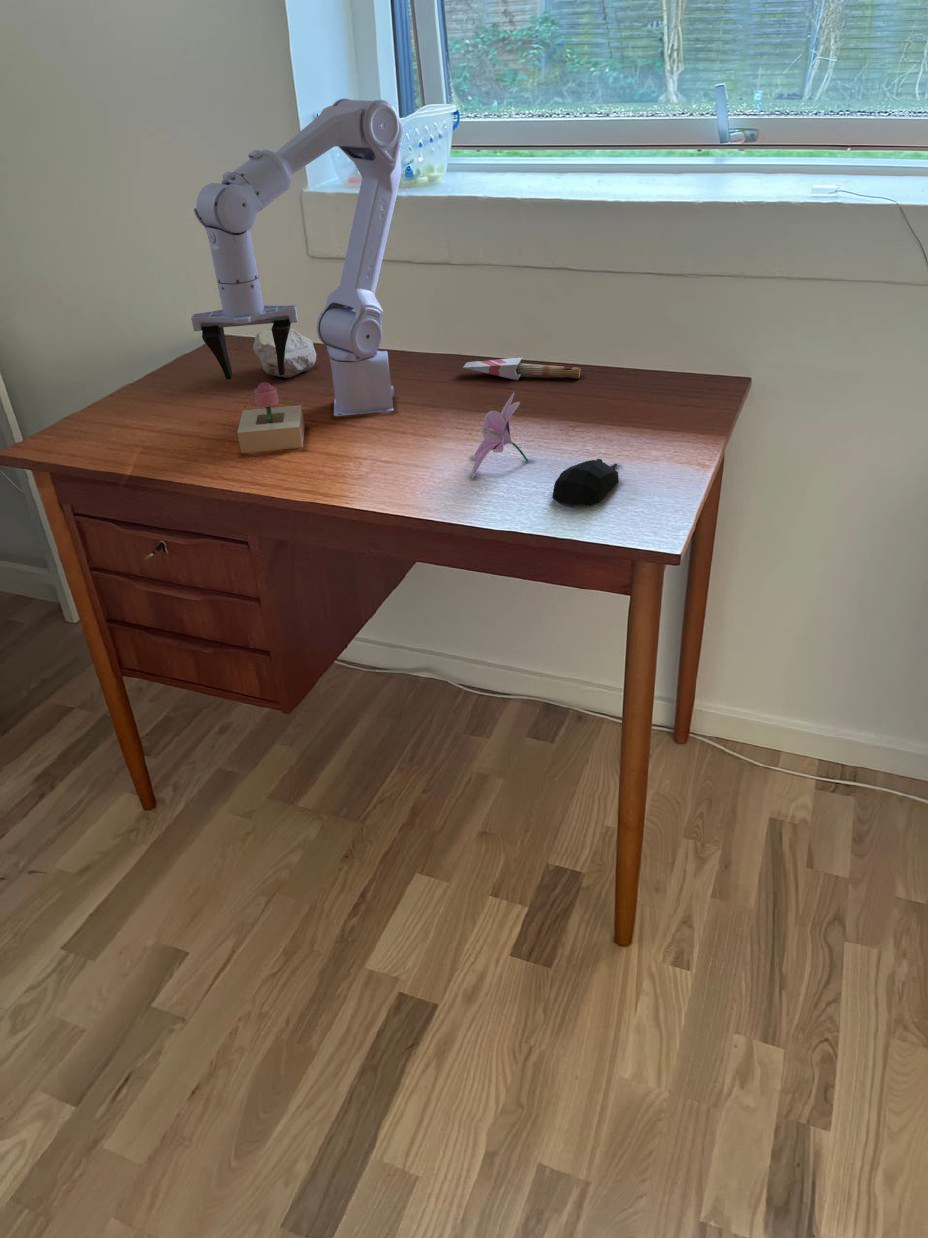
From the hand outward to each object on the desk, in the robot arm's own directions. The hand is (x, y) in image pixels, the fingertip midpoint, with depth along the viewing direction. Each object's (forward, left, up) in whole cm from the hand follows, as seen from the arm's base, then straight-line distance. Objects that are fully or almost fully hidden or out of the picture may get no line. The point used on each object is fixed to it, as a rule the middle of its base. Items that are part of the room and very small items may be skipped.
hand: (255, 375), depth 135 cm
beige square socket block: (-1, +1, -10) cm, 10 cm away
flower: (-1, +1, -10) cm, 10 cm away
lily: (-33, +17, -10) cm, 38 cm away
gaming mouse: (-44, +27, -10) cm, 53 cm away
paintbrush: (-42, -18, -10) cm, 47 cm away
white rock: (-2, -31, -10) cm, 33 cm away
